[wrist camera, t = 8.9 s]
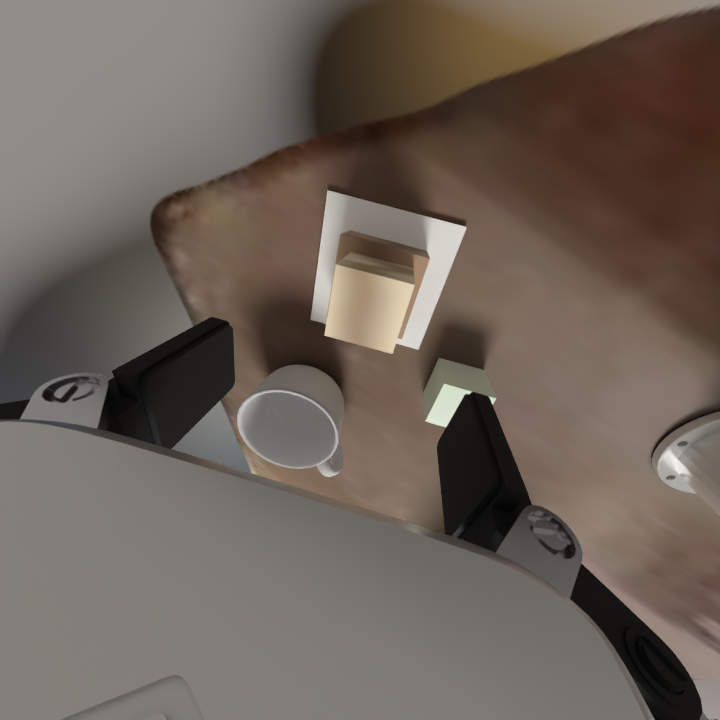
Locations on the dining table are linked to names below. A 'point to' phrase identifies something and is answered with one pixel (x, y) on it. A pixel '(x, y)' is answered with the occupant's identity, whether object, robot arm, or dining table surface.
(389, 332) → the maple block
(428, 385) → the sage block
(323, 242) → the white mat
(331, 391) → the teacup
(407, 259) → the walnut base brick
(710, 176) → the dining table surface
